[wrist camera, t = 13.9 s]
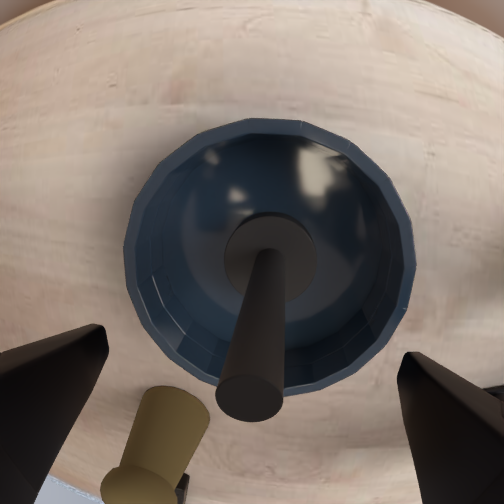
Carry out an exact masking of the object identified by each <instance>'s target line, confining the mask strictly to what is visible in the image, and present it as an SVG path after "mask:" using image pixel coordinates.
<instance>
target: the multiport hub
mask: <svg viewBox="0 0 504 504" xmlns="http://www.w3.org/2000/svg"><path fill="white" fill-rule="evenodd" d="M188 483H189V475H187V474H184V473H183V475H182V477H181V479H180V481H179V483H178V484H177V486H176V488H175V490H174V491H175V494H176V496H177V504H185V501H186V495H187V489H188Z"/></svg>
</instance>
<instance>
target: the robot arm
mask: <svg viewBox="0 0 504 504" xmlns="http://www.w3.org/2000/svg"><path fill="white" fill-rule="evenodd" d="M108 354H109V345H108V340H107V335H106V330H105V328H104V327H103V326H102V325H97V324H89V325H86V326H83V327H80V328H77V329H73V330H70V331H67V332H64V333H61V334H58V335H55V336H52V337H48V338H45V339H42V340H39V341H36V342H33V343H29V344H26V345H23V346H20V347H17V348H13V349H10V350H7V351H4V352H2V353H1V352H0V504H34V502H35V500H36V498H37V495H38V493H39V491H40V489H41V487H42V485H43V483H44V481H45V479H46V477H47V475H48V473H49V471H50V469H51V467H52V465H53V463H54V461H55V459H56V457H57V455H58V453H59V451H60V449H61V447H62V445H63V443H64V442H65V440H66V438H67V436H68V434H69V432H70V430H71V429H72V427H73V425H74V423H75V421H76V419H77V418H78V416H79V414H80V412H81V410H82V409H83V407H84V405H85V403H86V402H87V400H88V398H89V396H90V394H91V393H92V390H93V388H94V386H95V384H96V382H97V379H98V377H99V375H100V373H101V370H102V368H103V366H104V364H105V361H106V359H107V357H108ZM397 385H398V391H399V397H400V403H401V409H402V416H403V421H404V426H405V430H406V434H407V437H408V441H409V445H410V449H411V453H412V457H413V461H414V466H415V470H416V474H417V479H418V483H419V488H420V493H421V498H422V503H423V504H504V386H501V387H496V388H490V389H485V390H482V389H480V388H479V387H477V386H475V385H474V384H472V383H470V382H469V381H467V380H465V379H464V378H462V377H460V376H459V375H457V374H455V373H454V372H452V371H450V370H449V369H447V368H445V367H443V366H442V365H440V364H438V363H437V362H435V361H433V360H432V359H430V358H428V357H427V356H425V355H423V354H422V353H420V352H407V353H405V355H404V357H403V359H402V363H401V366H400V368H399V371H398V375H397Z"/></svg>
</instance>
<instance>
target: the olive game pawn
mask: <svg viewBox="0 0 504 504" xmlns="http://www.w3.org/2000/svg"><path fill="white" fill-rule="evenodd" d="M209 421H210V418H209V413H208V411H207V409H206V408H205V406H204V405H203V404H202V403H201V402H200V401H199V400H198V399H197V398H196V397H194V396H193V395H191V394H189V393H188V392H186V391H183V390H180V389H178V388H175V387H168V386H159V387H153V388H151V389H149V390H147V391H146V392H145V394H144V395H143V397H142V400H141V402H140V405H139V408H138V411H137V414H136V417H135V420H134V423H133V426H132V429H131V432H130V435H129V438H128V441H127V444H126V447H125V450H124V453H123V456H122V459H121V462H120V465H119V467H116V468H113V469H112V470H111V471H110V472H109V473H107V475H106V476H105V477H104V479H103V481H102V482H101V487H100V492H101V497H102V501H103V502H104V503H105V504H177V496H176V494H175V491H174V490H175V488H176V486H177V484H178V483H179V481H180V479H181V477H182V475H183V473H184V471H185V469H186V468H187V466H188V464H189V462H190V460H191V458H192V456H193V454H194V452H195V450H196V448H197V447H198V445H199V443H200V441H201V439H202V437H203V435H204V433H205V431H206V429H207V427H208V424H209Z"/></svg>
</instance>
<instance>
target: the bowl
mask: <svg viewBox="0 0 504 504" xmlns="http://www.w3.org/2000/svg"><path fill="white" fill-rule="evenodd" d="M262 212H280V213H284V214H287V215H289V216H292V217H293V218H295V219H297V220H298V221H299V222H300V223H302V225H303V226H304V227H305V228H306V229H307V230H308V232H309V234H310V235H311V238H312V240H313V243H314V246H315V249H316V253H317V268H316V273H315V276H314V278H313V280H312V282H311V284H310V285H309V287H308V288H307V289H306V290H305V291H304V292H303V293H302V294H301V295H300V296H298V297H297V298H295V299H293V300H291V301H289V302H286V303H285V353H284V391H283V397H287V396H292V395H298V394H304V393H309V392H314V391H319V390H321V389H324V388H326V387H328V386H330V385H332V384H334V383H336V382H338V381H340V380H342V379H345V378H347V377H349V376H351V375H353V374H354V373H356V372H357V371H358V370H359V369H360V368H362V367H363V366H364V365H365V364H366V363H367V362H368V361H369V360H371V359H372V358H373V357H374V356H375V355H376V354H377V353H378V352H379V351H380V350H381V349H383V348H384V347H385V345H386V344H387V343H388V341H389V340H390V338H391V336H392V335H393V333H394V331H395V330H396V328H397V326H398V325H399V323H400V321H401V319H402V318H403V316H404V314H405V312H406V311H407V308H408V303H409V299H410V295H411V290H412V286H413V281H414V276H415V271H416V266H417V264H416V254H415V245H414V237H413V230H412V223H411V219H410V217H409V215H408V213H407V210H406V208H405V206H404V204H403V202H402V200H401V198H400V196H399V194H398V193H397V191H396V189H395V187H394V185H393V183H392V181H391V179H390V178H389V177H388V175H387V174H386V173H385V172H384V171H383V170H382V169H381V168H380V167H379V166H378V165H377V164H376V163H374V162H373V161H372V160H371V159H370V158H369V157H368V156H367V155H366V154H365V153H364V152H363V151H362V150H360V149H359V148H358V147H357V146H356V145H355V144H354V143H352V142H351V141H349V140H347V139H345V138H343V137H341V136H338V135H336V134H334V133H331V132H329V131H327V130H324V129H322V128H319V127H317V126H315V125H312V124H310V123H307V122H305V121H301V120H286V119H267V118H249V119H243V120H240V121H236V122H233V123H230V124H226V125H223V126H220V127H217V128H213V129H210V130H207V131H204V132H201V133H200V134H197V135H196V136H194V137H193V138H191V139H190V140H189V141H187V142H186V143H185V144H183V145H182V146H181V147H179V148H178V149H177V150H175V151H174V152H173V153H171V154H170V155H169V156H168V157H166V158H165V159H164V160H162V161H161V162H160V164H158V165H157V167H156V168H155V170H154V171H153V173H152V174H151V176H150V177H149V179H148V180H147V182H146V183H145V185H144V187H143V188H142V190H141V191H140V193H139V194H138V196H137V197H136V199H135V201H134V204H133V207H132V211H131V215H130V219H129V223H128V227H127V231H126V235H125V240H124V246H123V253H124V266H125V277H126V287H127V290H128V293H129V295H130V298H131V300H132V303H133V305H134V308H135V310H136V312H137V315H138V317H139V320H140V322H141V324H142V326H143V328H144V329H145V330H146V331H147V333H148V334H149V335H150V336H151V338H152V339H153V340H154V341H155V343H156V344H157V345H158V346H159V347H160V349H161V350H162V351H163V352H164V353H165V355H166V356H167V357H168V358H169V359H170V360H172V361H173V362H175V363H176V364H177V365H179V366H180V367H182V368H183V369H184V370H186V371H187V372H189V373H190V374H192V375H193V376H194V377H196V378H197V379H199V380H201V381H203V382H206V383H208V384H211V385H214V386H216V387H217V385H218V382H219V379H220V375H221V372H222V369H223V366H224V362H225V359H226V356H227V352H228V349H229V346H230V342H231V339H232V336H233V333H234V329H235V326H236V323H237V319H238V316H239V313H240V309H241V306H242V303H243V299H244V296H243V295H241V294H240V293H239V292H238V291H237V290H236V289H235V288H234V287H233V286H232V284H231V282H230V281H229V279H228V277H227V274H226V271H225V266H224V252H225V248H226V245H227V243H228V240H229V239H230V237H231V235H232V234H233V233H234V231H235V230H236V228H237V227H238V226H239V225H240V224H241V223H242V222H243V221H244V220H246V219H247V218H249V217H251V216H253V215H255V214H258V213H262Z"/></svg>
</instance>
